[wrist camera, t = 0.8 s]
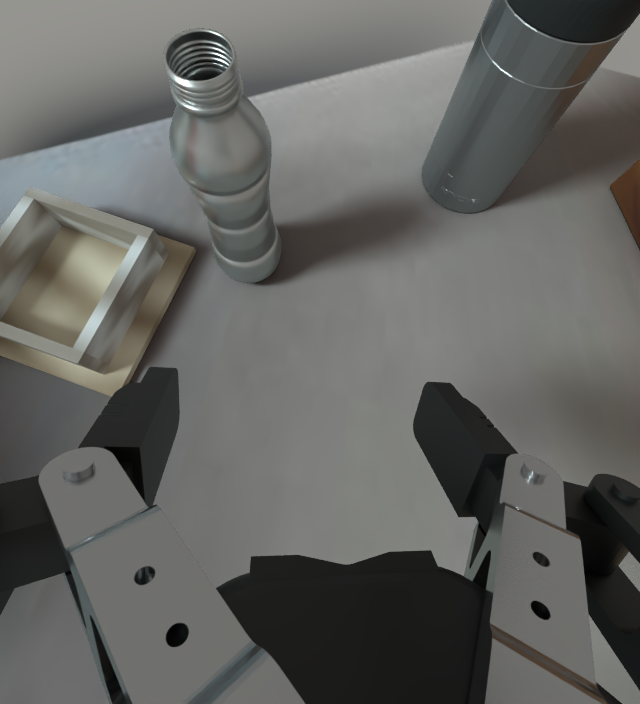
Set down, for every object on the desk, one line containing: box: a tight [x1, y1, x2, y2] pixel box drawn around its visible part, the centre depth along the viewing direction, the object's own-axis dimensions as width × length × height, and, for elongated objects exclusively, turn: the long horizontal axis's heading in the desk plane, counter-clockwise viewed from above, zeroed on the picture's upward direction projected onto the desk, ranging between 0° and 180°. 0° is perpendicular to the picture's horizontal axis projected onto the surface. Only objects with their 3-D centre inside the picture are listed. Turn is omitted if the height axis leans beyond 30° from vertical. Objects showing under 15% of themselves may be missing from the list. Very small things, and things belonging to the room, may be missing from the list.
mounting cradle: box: [0, 187, 196, 397], centre depth 33 cm, size 16×16×5 cm
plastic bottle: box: [163, 28, 282, 283], centre depth 28 cm, size 6×7×20 cm
